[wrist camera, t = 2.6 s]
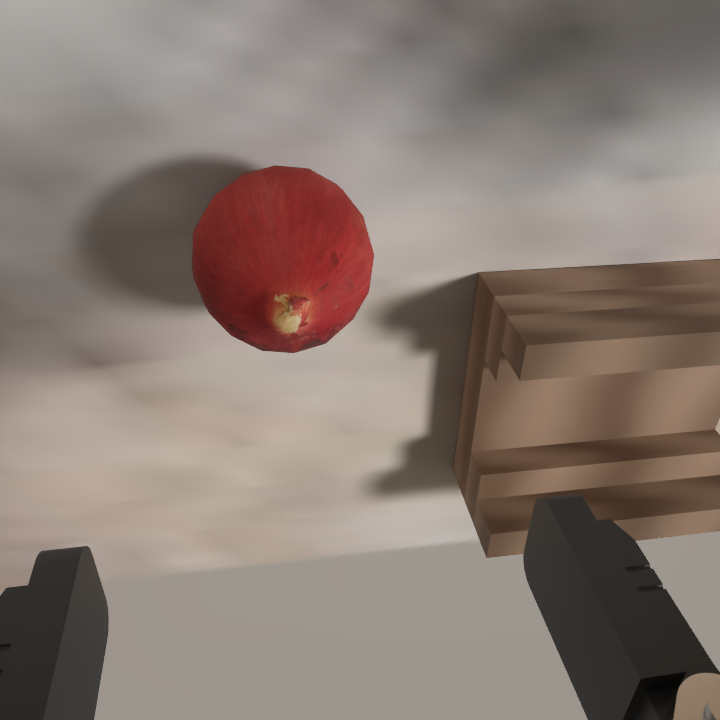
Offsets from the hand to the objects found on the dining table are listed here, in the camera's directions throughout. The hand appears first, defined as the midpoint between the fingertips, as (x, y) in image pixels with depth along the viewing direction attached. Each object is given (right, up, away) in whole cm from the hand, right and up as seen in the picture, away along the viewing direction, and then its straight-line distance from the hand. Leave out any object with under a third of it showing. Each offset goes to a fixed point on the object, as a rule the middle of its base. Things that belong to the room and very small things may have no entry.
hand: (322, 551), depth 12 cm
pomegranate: (-2, +9, +13) cm, 16 cm away
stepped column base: (+11, +3, +19) cm, 22 cm away
